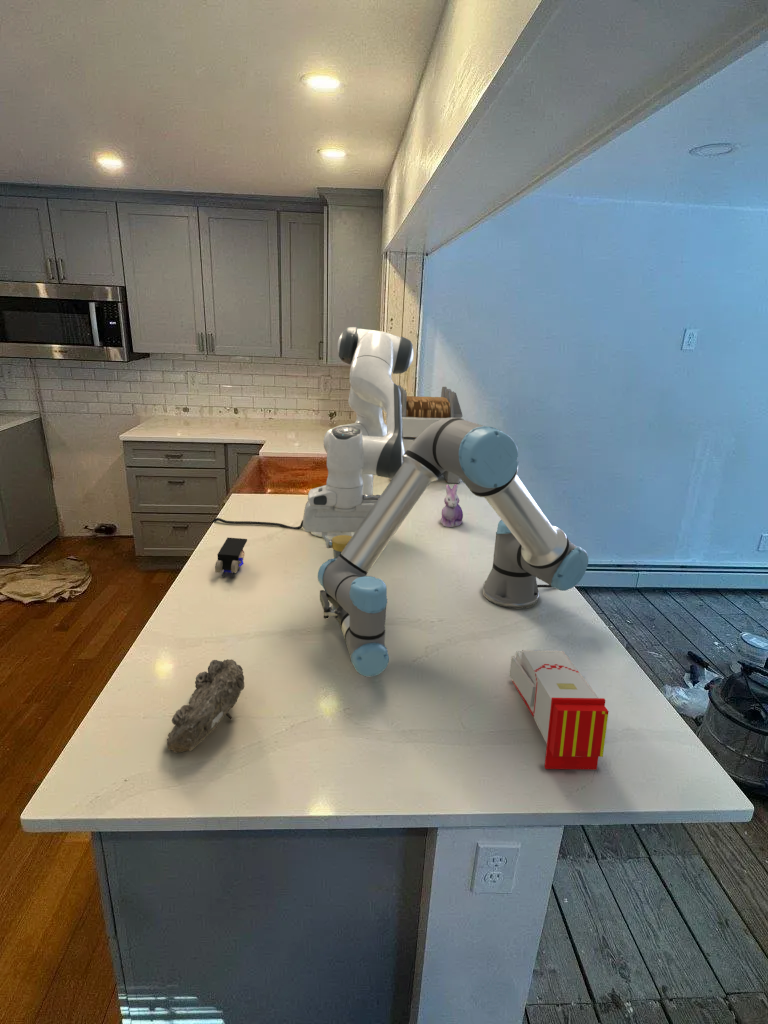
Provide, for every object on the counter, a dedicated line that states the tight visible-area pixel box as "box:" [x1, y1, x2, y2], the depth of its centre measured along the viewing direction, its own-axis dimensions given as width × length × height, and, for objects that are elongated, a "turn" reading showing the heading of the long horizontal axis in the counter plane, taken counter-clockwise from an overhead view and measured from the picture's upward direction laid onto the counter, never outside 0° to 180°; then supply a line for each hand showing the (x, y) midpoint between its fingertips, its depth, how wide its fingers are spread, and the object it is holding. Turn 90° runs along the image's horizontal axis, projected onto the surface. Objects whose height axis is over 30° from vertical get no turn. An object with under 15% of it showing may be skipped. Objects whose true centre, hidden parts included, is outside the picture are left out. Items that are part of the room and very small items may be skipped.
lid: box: [331, 535, 352, 552], centre depth 141 cm, size 6×6×2 cm
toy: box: [509, 649, 610, 771], centre depth 110 cm, size 12×13×30 cm
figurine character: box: [214, 537, 248, 578], centre depth 166 cm, size 7×8×15 cm
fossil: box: [166, 658, 245, 754], centre depth 106 cm, size 22×10×15 cm
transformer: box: [385, 384, 465, 484], centre depth 268 cm, size 34×33×41 cm
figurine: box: [440, 483, 464, 528], centre depth 209 cm, size 9×10×15 cm
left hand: (343, 547), depth 142 cm, fingers closed on lid, 6 cm apart
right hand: (339, 579), depth 150 cm, fingers closed on jar, 5 cm apart
